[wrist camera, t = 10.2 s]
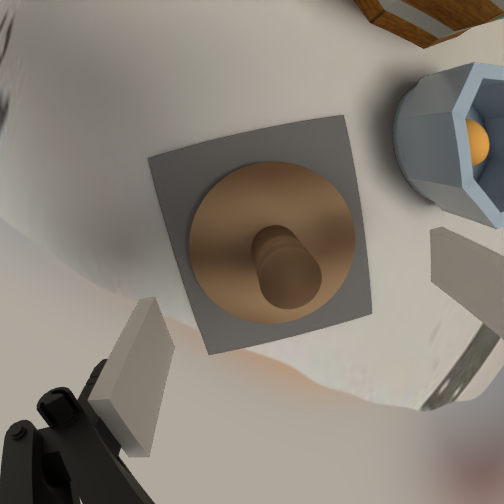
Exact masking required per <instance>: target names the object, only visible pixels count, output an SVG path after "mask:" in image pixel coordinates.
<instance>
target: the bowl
mask: <svg viewBox="0 0 504 504" xmlns="http://www.w3.org/2000/svg"><path fill="white" fill-rule="evenodd" d="M465 119H470V120H473V121H475V122H477V123H479V124H480V125H481V126H482V127H483V128H484V130H485V131H486V133H487V135H488V138H489V152H488V154H487V156H486V158H485V159H484V160H483V161H482V162H481V163H479V164H477V165H474V166H472V161H471V153H470V146H469V139H468V132H467V126H466V121H465ZM393 145H394V151H395V155H396V159H397V162H398V165H399V167H400V169H401V171H402V173H403V175H404V177H405V178H406V180H407V181H408V183H409V184H410V185H411V187H412V188H413V189H414V190H415V191H416V192H418V193H419V194H420V195H421V196H423V197H425V198H426V199H429V200H431V201H433V202H434V203H435V204H436V205H437V206H438V207H440V208H441V209H442V210H443V211H446V212H449V213H452V214H455V215H458V216H461V217H464V218H467V219H470V220H473V221H475V222H478V223H481V224H484V225H487V226H489V227H492V228H495V229H498V228H501V227H504V67H503V66H497V65H491V64H483V63H475V62H473V63H470V64H466V65H462V66H459V67H455V68H452V69H449V70H445V71H442V72H439V73H435V74H432V75H429V76H426V77H423V78H421V79H420V81H419V82H418V84H417V86H415V87H413V88H412V89H410V90H409V91H408V92H407V93H406V94H405V95H404V97H403V98H402V100H401V101H400V103H399V105H398V107H397V110H396V113H395V117H394V122H393Z"/></svg>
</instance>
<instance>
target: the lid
mask: <svg viewBox="0 0 504 504" xmlns="http://www.w3.org/2000/svg"><path fill="white" fill-rule="evenodd" d="M354 251H355V229H354V224H353V219H352V216H351V214H350V211H349V208H348V206H347V204H346V202H345V201H344V199H343V198H342V196H341V195H340V193H339V192H338V191H337V190H336V188H335V187H334V186H333V185H332V184H331V183H330V182H328V181H327V180H326V179H325V178H324V177H322V176H321V175H319V174H317V173H316V172H314V171H312V170H310V169H308V168H305V167H303V166H299V165H296V164H292V163H285V162H262V163H255V164H252V165H248V166H245V167H242V168H240V169H238V170H236V171H234V172H232V173H230V174H229V175H227V176H226V177H224V178H223V179H222V180H220V181H219V182H218V183H217V184H216V185H215V186H214V187H213V188H212V189H211V190H210V191H209V192H208V194H207V195H206V197H205V198H204V200H203V201H202V203H201V204H200V206H199V208H198V210H197V212H196V214H195V217H194V220H193V223H192V226H191V231H190V238H189V253H190V260H191V265H192V269H193V271H194V274H195V277H196V279H197V281H198V283H199V284H200V286H201V288H202V289H203V291H204V292H205V293H206V295H207V296H208V297H209V298H210V299H211V300H212V301H213V302H214V303H215V304H216V305H217V306H219V307H220V308H221V309H223V310H224V311H226V312H228V313H229V314H231V315H233V316H235V317H238V318H240V319H243V320H246V321H249V322H255V323H262V324H276V323H284V322H289V321H293V320H296V319H299V318H302V317H304V316H306V315H308V314H310V313H312V312H314V311H315V310H317V309H319V308H320V307H321V306H323V305H324V304H325V303H326V302H327V301H328V300H329V299H330V298H331V297H333V296H334V294H335V293H336V292H337V291H338V289H339V288H340V287H341V285H342V283H343V282H344V280H345V279H346V276H347V274H348V272H349V270H350V267H351V264H352V261H353V256H354Z"/></svg>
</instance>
